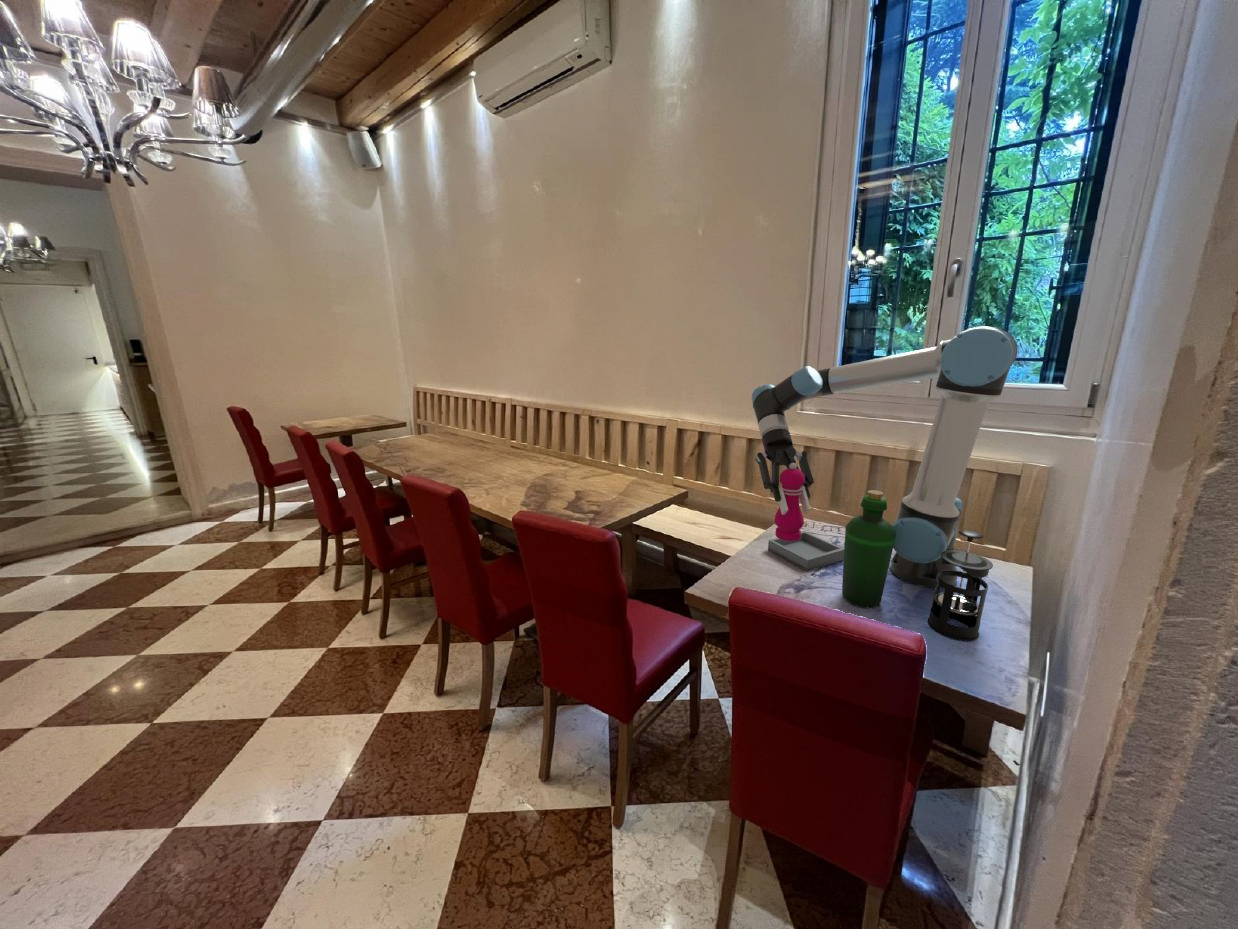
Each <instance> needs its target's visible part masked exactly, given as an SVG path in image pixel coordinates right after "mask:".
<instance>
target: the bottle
mask: <svg viewBox="0 0 1238 929" xmlns="http://www.w3.org/2000/svg"><path fill="white" fill-rule="evenodd" d="M884 494H885V493H884V492H883V491H881V490H875V489H870V490H869V489H868V490H867V494H865V495H863V497H862V500H861V502H860V506H861V508H862V514H859V515H857V516H854V517H852V519H850V520H849V521H848V522H847V524H845V529H844V530H845V531H844V533H845V534H844V547H843V548H844V560H843V568H842V569H843V570H842V582H841V583H842V585H841V586H842V587H841V588H842V589H841V595H842V598H843V599H844V600H845V601H846V602H848V603H849V604H852V605H853V606H856V605H857V606H856V607H860V608H867V607H868V608H871V609H872V608H873V609H874V608H876V607H879V606H880V604H881V602H882V598H883V595H884V590H885V586H886V581H887V577H888V573H889V568H890V567H889V566H890V565H891V560H892V554H893V551H894V549H893V546H894V541H895V537H896V531H895V529H894V528H893V526H892V524H891V523H890V522H889V521H888V520H886V519H885V518H884V517H883V515H884V512H885V511H886V510H887V509H888V504H887V503H888V502H887V498H886V497H885V496H884ZM868 608H867V609H868Z"/></svg>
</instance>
